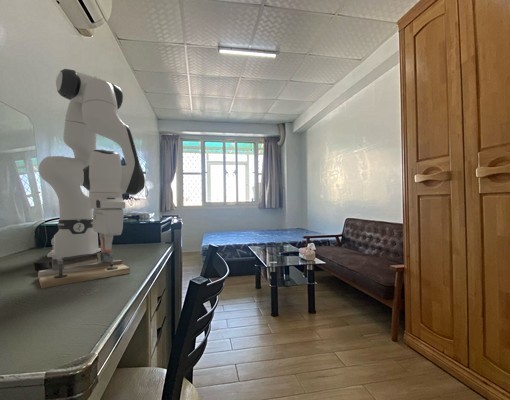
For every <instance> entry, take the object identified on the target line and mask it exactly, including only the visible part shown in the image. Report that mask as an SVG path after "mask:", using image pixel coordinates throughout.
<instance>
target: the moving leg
mask: <svg viewBox="0 0 510 400" xmlns="http://www.w3.org/2000/svg"><path fill="white" fill-rule="evenodd" d="M104 243H105V238H101V241H100V248H101V252H100V262H102V263H106V262H110V267H113V261H114V253H113V250H112V249H108V250H106V249H104Z"/></svg>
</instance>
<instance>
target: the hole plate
mask: <svg viewBox="0 0 510 400" xmlns="http://www.w3.org/2000/svg"><path fill="white" fill-rule="evenodd" d="M51 260H52V269H48V270H41V271H39V272H37V273H38V274H37V276H38V277H37V278H38V279H37V280H38V282H39V284H40V287H41V289H46V288H51V287H57V286H62V285H63V286H64V285H69V284H74V283H80V282H86V281H92V280H97V279H103V278H108V277H109V278H110V277H116V276H122V275H127V274H131V267H129V266H127V265H125V264H123V260H122V259H116V260H115V259H113V267H110V262H106V263H102V262H101V261H100V262H99V261H98V262H96V263H92V264H85V265H77V266H70V267H64V257H63V256H62V257H51Z"/></svg>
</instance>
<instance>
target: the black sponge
mask: <svg viewBox="0 0 510 400" xmlns="http://www.w3.org/2000/svg"><path fill="white" fill-rule="evenodd" d="M98 262H99V256H98V253H93V254H83V255H77V256H71V257H64V267H70V266H77V265H85V264H92V263H98ZM32 264H33V266H34V271H35V272H37V273H39V271H41V270H48V269H52V259H47V260H41V261H36V262H35V261H34V262H33V263H32Z"/></svg>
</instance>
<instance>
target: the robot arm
mask: <svg viewBox="0 0 510 400" xmlns="http://www.w3.org/2000/svg"><path fill="white" fill-rule="evenodd" d="M55 87H56V90H57V92H58V94H59V95H60V96H61V97H62V98H65V99H67V100H69V103H68V106H67V109H66V114H65V120H64V129H63V135H62V136H63V142H64V144H65V145H66V146H67V147H68V148H70V149H71V150H72V152H73V155H74V157H71V156H70V157H68V156H64V155H53V156H51V155H50V156H46V157H44V158H43V159H42V160H41V161H40V162H39V165H38V173H39V176H40V177H41V178H42V180H43V181H45V182H46V183H47V184H49V186H51V187H52V188H51V189H53V190H54V192H55V195H56V197H57V199H58V207H59V209H58V210H59V220H58V221H57V222H58V223H57V229H58V231H57V232H56V233H55V234H54V235H53V237H52V239H51V242H50V243H51V245H52V250H50V252H48V254H47V256H46V257H47V258H53V257H62V256H63V257H71V256H77V255H83V254H97V253H101V252H100V251H101V247H99V240H100V242H101V238H105V243H104V249H106V250H108V249H112V248H113V240H114V236H121V235H122V233H123V230H124V214H125V213H124V209H126V201H125V200H124V199H123V194H124V195H130V196H136V195H137V194H139V193H140V192H141V191H143V189H145V186H146V185H145V184H146V178H145V174H144V171H143V168H142V166H141V162H140V160H139V156H138V152H137V148H136V145H135V141H134V138H133V134H132V132H131V129H130V127H129V125H127V124H126V123H124V121H122V119H121V117H120V115H119V109H120V108H121V107H122V104H123V103H124V102H123V101H124V93H123V91H122V89H121V88H120V87H119V86H117V85H116V84H114V83H110V82H108V81H106V80H105V79H103V78H100V77H97V76H92V75H90V74H86V73H83V72H79V71H76V70H74V69H69V68H63V69H61V70H60V71H59V73H58V74H57V76H56V79H55ZM97 135H99V136H100V137H103V138H106V139H108V140H111V141H113V142H114V143H116V144H117V145H118V146H119V147H120V149H121V151H122V154H123V159H124V162H125V165H122V160H121V155H120V153H119V152H117V151H114V150H106V149H105V150H104V149H97ZM81 186H82V187H84V188H85V189H86V190H87V191H88V196H87V195H86V194H84V192H83V190H82V188H81ZM98 234H99V235H98Z"/></svg>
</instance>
